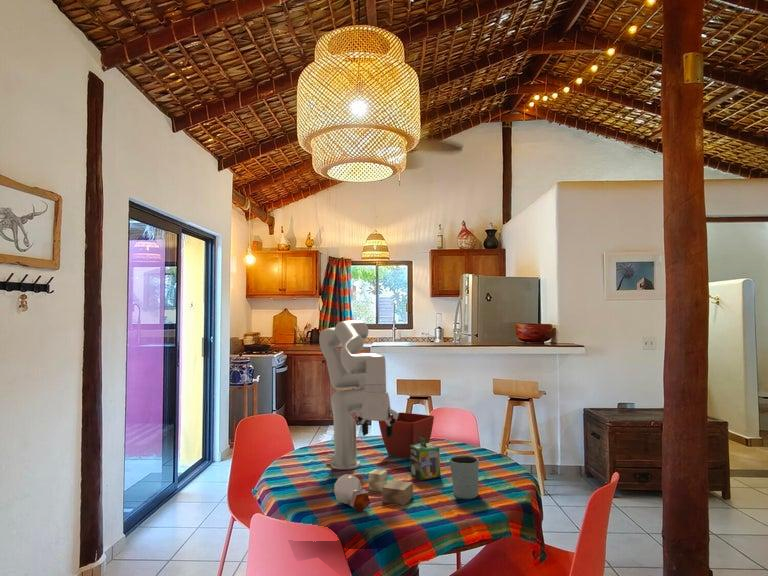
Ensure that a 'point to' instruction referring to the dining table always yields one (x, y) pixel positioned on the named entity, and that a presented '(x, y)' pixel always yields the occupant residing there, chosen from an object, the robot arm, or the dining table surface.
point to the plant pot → (406, 433)
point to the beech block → (377, 479)
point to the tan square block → (397, 492)
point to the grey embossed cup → (465, 476)
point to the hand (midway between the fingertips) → (377, 435)
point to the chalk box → (425, 460)
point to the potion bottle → (351, 492)
